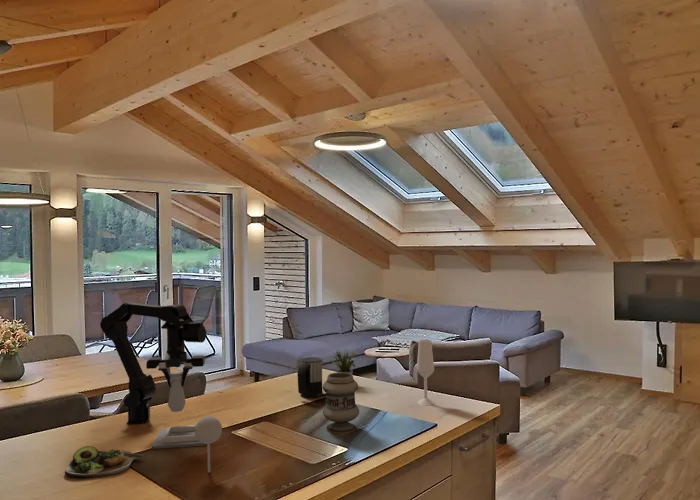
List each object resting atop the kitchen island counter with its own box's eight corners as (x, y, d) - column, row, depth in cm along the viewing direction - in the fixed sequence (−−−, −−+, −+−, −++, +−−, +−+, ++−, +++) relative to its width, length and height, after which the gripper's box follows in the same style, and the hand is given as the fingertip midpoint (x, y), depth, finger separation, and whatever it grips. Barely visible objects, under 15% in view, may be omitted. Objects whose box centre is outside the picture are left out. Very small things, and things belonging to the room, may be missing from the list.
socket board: (151, 448, 170) (151, 441, 170) (161, 431, 185) (161, 424, 185) (205, 445, 172) (205, 437, 172) (210, 428, 188) (210, 421, 188)
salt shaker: (180, 413, 189) (179, 374, 189) (164, 412, 191) (164, 374, 191) (188, 408, 195) (188, 370, 195) (173, 407, 196) (173, 370, 196)
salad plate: (146, 451, 168) (146, 436, 168) (138, 475, 151) (138, 458, 151) (77, 458, 164) (76, 442, 164) (60, 482, 147) (59, 465, 147)
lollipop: (198, 467, 155) (197, 413, 155) (224, 466, 156) (223, 412, 155) (193, 478, 148) (192, 421, 148) (220, 476, 148) (219, 420, 148)
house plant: (322, 388, 238) (322, 350, 238) (329, 380, 252) (328, 344, 252) (355, 389, 236) (355, 351, 236) (360, 381, 250) (360, 345, 249)
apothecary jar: (315, 429, 186) (314, 375, 186) (340, 420, 195) (340, 368, 195) (341, 437, 178) (341, 380, 178) (366, 428, 187) (366, 374, 186)
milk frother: (303, 392, 233) (303, 356, 233) (341, 393, 231) (340, 357, 231) (295, 401, 219) (294, 363, 219) (335, 402, 217) (334, 364, 217)
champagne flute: (437, 401, 216) (436, 339, 216) (430, 406, 211) (429, 342, 211) (421, 399, 220) (420, 338, 220) (414, 403, 214) (413, 341, 214)
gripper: (142, 346, 183) (143, 394, 183) (201, 344, 186) (201, 391, 186) (149, 341, 194) (150, 386, 195) (204, 339, 197) (205, 383, 197)
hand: (176, 386), depth 193 cm, fingers closed on salt shaker, 4 cm apart
